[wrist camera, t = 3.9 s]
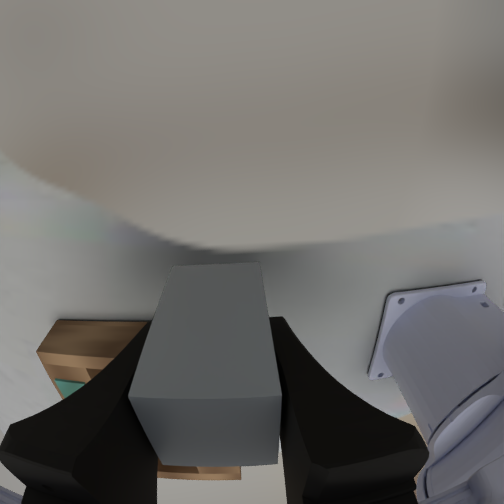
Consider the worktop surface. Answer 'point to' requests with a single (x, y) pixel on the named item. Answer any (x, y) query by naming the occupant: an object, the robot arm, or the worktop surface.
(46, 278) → the worktop surface
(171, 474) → the port block
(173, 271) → the matte gray box
